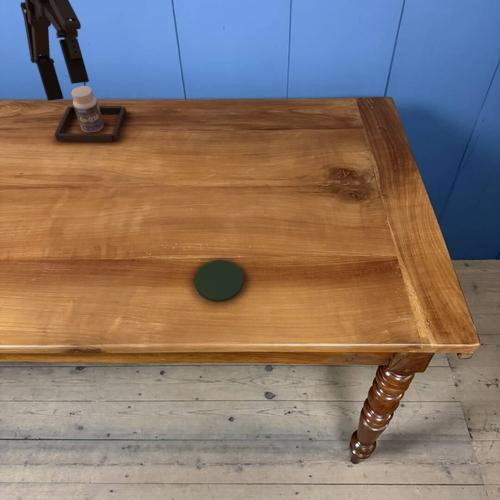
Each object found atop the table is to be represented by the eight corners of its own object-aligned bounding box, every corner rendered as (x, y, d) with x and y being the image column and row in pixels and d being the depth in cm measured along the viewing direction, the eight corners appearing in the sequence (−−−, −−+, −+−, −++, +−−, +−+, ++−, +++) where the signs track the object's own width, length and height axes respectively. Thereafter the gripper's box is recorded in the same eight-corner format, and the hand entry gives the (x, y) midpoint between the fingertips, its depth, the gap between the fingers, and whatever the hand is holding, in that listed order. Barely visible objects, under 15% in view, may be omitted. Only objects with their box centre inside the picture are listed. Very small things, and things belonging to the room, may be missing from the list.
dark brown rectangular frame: (56, 141, 94) (53, 135, 93) (70, 111, 101) (68, 105, 100) (117, 142, 94) (115, 136, 93) (127, 112, 101) (125, 105, 99)
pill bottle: (83, 135, 96) (70, 100, 89) (79, 122, 98) (67, 87, 92) (106, 130, 97) (95, 94, 90) (102, 117, 99) (91, 82, 93)
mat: (185, 283, 72) (184, 281, 71) (217, 254, 75) (217, 252, 75) (221, 310, 69) (220, 308, 68) (253, 278, 72) (253, 276, 72)
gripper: (75, -81, 67) (115, 71, 71) (32, -13, 86) (66, 103, 91) (21, -87, 62) (68, 75, 67) (-11, -14, 82) (27, 107, 87)
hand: (67, 91), depth 79 cm, fingers open, 13 cm apart
